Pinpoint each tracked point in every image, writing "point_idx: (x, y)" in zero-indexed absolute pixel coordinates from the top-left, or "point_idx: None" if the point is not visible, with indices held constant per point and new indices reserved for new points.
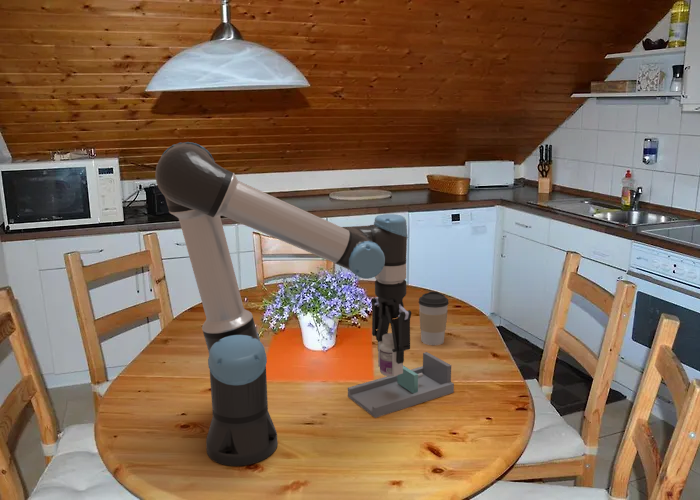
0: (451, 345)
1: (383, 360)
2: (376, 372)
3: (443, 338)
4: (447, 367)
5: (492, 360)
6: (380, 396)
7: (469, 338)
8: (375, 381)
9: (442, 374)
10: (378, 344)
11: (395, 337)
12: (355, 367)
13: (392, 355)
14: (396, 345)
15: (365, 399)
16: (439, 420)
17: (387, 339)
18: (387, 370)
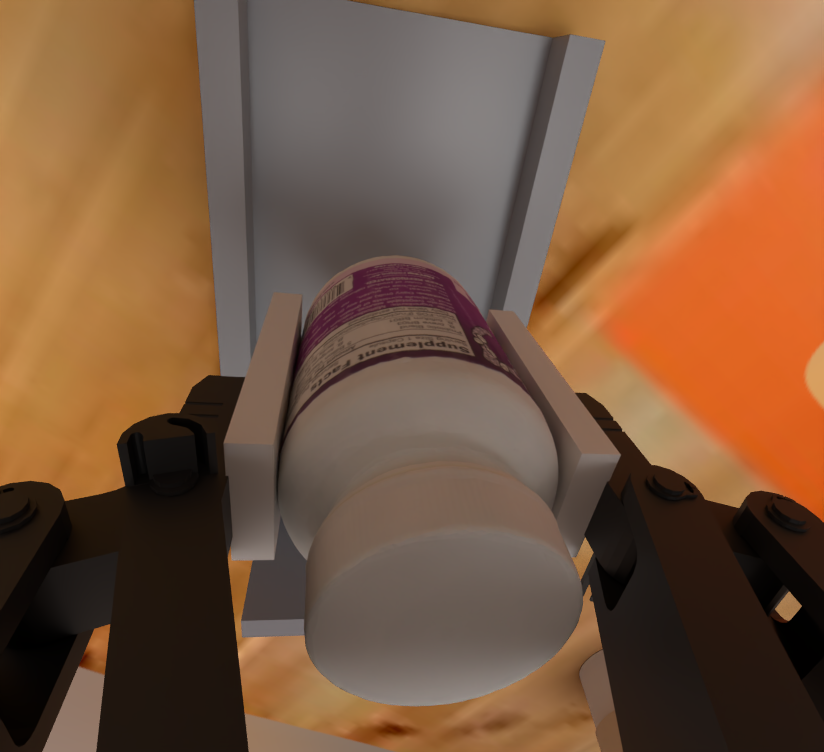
0: (545, 685)
1: (389, 307)
2: (633, 385)
3: (586, 697)
4: (245, 614)
5: (369, 712)
6: (396, 203)
7: (534, 733)
8: (520, 274)
9: (292, 563)
10: (597, 432)
11: (109, 689)
12: (757, 339)
13: (275, 396)
14: (133, 533)
15: (430, 87)
16: (6, 309)
17: (384, 543)
18: (340, 285)
